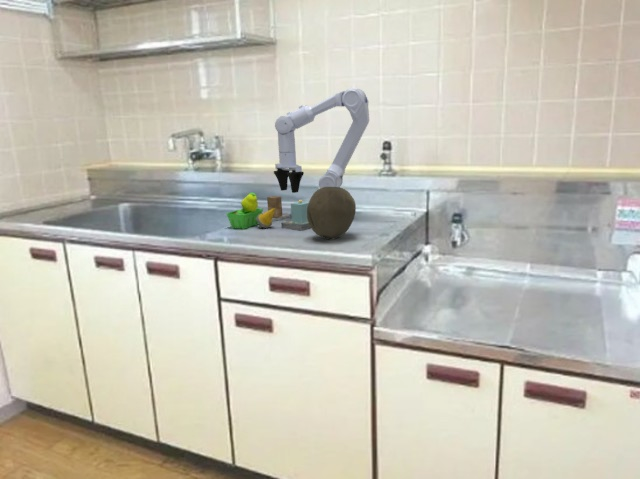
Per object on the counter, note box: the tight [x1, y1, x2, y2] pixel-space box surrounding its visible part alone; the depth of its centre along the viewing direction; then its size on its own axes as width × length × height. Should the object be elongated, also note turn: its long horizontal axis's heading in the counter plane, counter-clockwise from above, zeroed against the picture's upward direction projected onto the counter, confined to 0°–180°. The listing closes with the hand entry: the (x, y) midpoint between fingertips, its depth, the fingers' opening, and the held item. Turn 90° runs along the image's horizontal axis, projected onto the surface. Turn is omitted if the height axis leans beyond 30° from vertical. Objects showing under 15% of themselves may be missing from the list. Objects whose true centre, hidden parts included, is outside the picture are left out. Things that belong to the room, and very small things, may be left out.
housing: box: [290, 199, 309, 223], centre depth 174 cm, size 4×4×7 cm
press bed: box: [280, 220, 312, 231], centre depth 175 cm, size 10×9×2 cm
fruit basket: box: [225, 192, 264, 230], centre depth 179 cm, size 11×9×11 cm
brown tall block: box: [266, 195, 283, 217], centre depth 188 cm, size 3×4×7 cm
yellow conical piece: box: [256, 208, 275, 229], centre depth 174 cm, size 5×5×10 cm
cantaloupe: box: [307, 186, 357, 240], centre depth 155 cm, size 14×14×15 cm
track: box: [272, 213, 290, 222], centre depth 188 cm, size 11×4×1 cm, turn 138°
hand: (289, 191), depth 187 cm, fingers open, 7 cm apart
